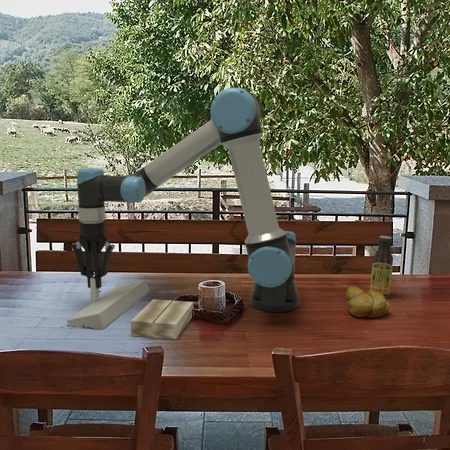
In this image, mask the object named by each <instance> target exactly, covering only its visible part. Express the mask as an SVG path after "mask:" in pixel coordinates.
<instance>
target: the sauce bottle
mask: <svg viewBox="0 0 450 450" xmlns="http://www.w3.org/2000/svg"><path fill="white" fill-rule="evenodd" d="M392 242H393V237H392V236H388V235H380V236H378V248H377V251H376V252H375V254H374V255H373V261H372V267H371V268H372V269H371V276H370V285H369V291H370V290H372V291H377V292H379V293H381V294H382V295H383V296H384V297H385V299H386V300H387V298H389V297H390V293H391V285H392V276H393V269H394V268H393V265H394V257H393V254H392V252H391V250H392V249H391V247H392Z"/></svg>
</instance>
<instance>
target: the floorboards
mask: <svg viewBox="0 0 450 450" xmlns="http://www.w3.org/2000/svg"><path fill="white" fill-rule="evenodd" d="M192 309H193V310H194V301H182V300H181V301H180V300H175V299H172V300H167V299H165V300H164V299H152V300H151V301H150V302H149V303H148V304H147V305H145V307H143V309H142V310H141V311H140V312H138V313H137V314H136V315H135V316H134V317H133V318H132V319H131V320H130V336H132V337H142V338H143V337H145V338H154V339H155V338H156V339H167V340H177V339H178V337H179V336H180V335H181V334H182V332H183V331H184V329H185V328H186V326H187V325H188V324H189V322H190V321H191V319H192V318H193V317H192Z"/></svg>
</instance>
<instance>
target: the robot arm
mask: <svg viewBox="0 0 450 450" xmlns="http://www.w3.org/2000/svg"><path fill="white" fill-rule="evenodd" d="M261 117H262V107H261V104H260V102H259V100H258V99H257V98H256V96H254V94H251V93H250V92H249V91H248V90H246V89H244V88H241V87H229V88H225V89H224V90H221V91H220V92H218V94H216V95H215V97H214V99H213V100H212V102H211V106H210V120H208V121H207V122H206V123H205V124H203V125H201V126H200V127H199V128H197V129H196V130H194V131H193V132H192V133H190V134H188V135H187V136H186V137H184V138H183V139H181V140H180V141H179V142H177V143H176V144H175V145H173V146H172V147H170V148H169V149H166V151H164V152H163V153H162V154H160V155H158V156H157V157H156V158H154V159H153V160H152V161H150V162H149V163H147V164H146V165H144V166H143V167H142V168H140V169H138V170H137V171H136V172H134V173H130V174H126V175H105V171H104V170H103V168H96V167H95V168H92V167H91V168H87V167H86V168H80V169H79V170H78V171H77V173H76V175H77V177H76V181H77V182H76V186H77V187H76V189H77V202H78V204H77V205H78V206H77V207H78V221H79V223H78V230H79V238H78V241H76V242H75V243H73V244H71V248H72V250H73V251H74V254H75V257H76V261H77V264H78V269H79V272H80V276H83V277H86V279H87V281H86V282H87V288H88V289H90V300H94V301H96V300H98V299H99V298H100V289H101V288H102V287H103V285H102V284H103V283H102V278H103V277H105V276H107V274H108V273H109V272H108V271H109V267H110V261H111V257H112V252H113V250H114V249H115V247H116V246H115V244H113V243H112V244H111V243H110V242H108V239H107V237H106V233H107V232H106V230H107V229H106V222H105V220H106V210H105V207H106V202H107V203H108V202H112V203H113V202H114V203H128V204H133V203H134V204H135V203H141V202H143V200H144V199H145V197H147V196H149V195H151V193H153V192H154V190H156V189H157V188H159V186H161V185H163V184H164V183H165V182H168V180H171V178H173V177H175V176H176V175H177V174H179V173H181V172H182V171H184V170H185V169H186V168H188V167H189V166H191V165H192V164H194V163H196V162H197V161H198V160H200V159H201V158H202V157H203V158H204V156H206V155H207V154H209V153H210V152H211V151H213V150H214V149H216V148H218V147H219V146H223V147H224V148H226V149H227V150H228V154H229V155H228V156H229V159H230V163H231V166H232V171H233V175H234V179H235V184H236V188H237V191H238V195H239V200H240V205H241V209H242V213H243V216H244V221H245V225H246V230H247V233H248V235H247V237H246V238H245V240H244V244H245V248H246V253H247V257H248V260H247V270H248V275H249V276H250V278H251V279H252V280H253V282H254V284H253V287H252V290H251V293H250V295H249V304H250V306H251V307H252V308H254V309H257V310H260V311H264V312H271V313H273V312H274V313H281V312H282V313H283V312H285V313H286V312H290V311H294V310H297V309H298V308H299V307H300V296H299V292H298V290H297V289H298V288H297V286H296V282H295V269H296V267H295V266H296V264H295V263H296V243H297V239H296V234H295V232H294V231H289V230H288V231H287V230H283V229H282V228H280V226H279V221H278V218H277V214H276V209H275V204H274V201H273V200H274V199H273V195H272V192H271V187H270V183H269V179H268V173H267V170H266V167H265V161H264V157H263V153H262V149H261V143H260V140H261V139H262V137H263V135H264V132H263V128H262V122H261ZM82 248H83V249H82ZM103 249H104V250H105V251H104V255H103V260H102V252H103ZM83 250H84V251H83Z"/></svg>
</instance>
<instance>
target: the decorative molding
mask: <svg viewBox="0 0 450 450" xmlns="http://www.w3.org/2000/svg"><path fill="white" fill-rule="evenodd" d="M149 293H150V289H149V285H148V281H147V279H141V280H136V281H132V282H126V283H122V284H119V285H117V286H115V287H114V288H112V289H111V290H110V291H109V290H108V292H106V293H105V294H103V295H102V296H99V298H97V299H96V300H94V301H93V302H91V303H90V304H89V305H87V306H86V307H84V308H83V309H81V310H80V311H78V312H76V313H75V314H74V315H72V316H71V317H69V318H68V319H66V322H67V324H68V326H69V327H71V328H73V327H75V328H79V329H80V328H82V329H83V328H85V329H86V328H91V329H93V330H100V331H101V330H105V329H106V328H107V327H108V326H110V325H111V324H112V323H114V322H115V321H116V320H117V319H118V318H119V317H120V316H122V315H123V314H124V313H125V312H127V311H128V310H129V309H130V308H132V307H133V306H134V305H136V304H137V303H138V302H139V301H140V300H142V299H143V298H144V297H146V295H148V294H149Z"/></svg>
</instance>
